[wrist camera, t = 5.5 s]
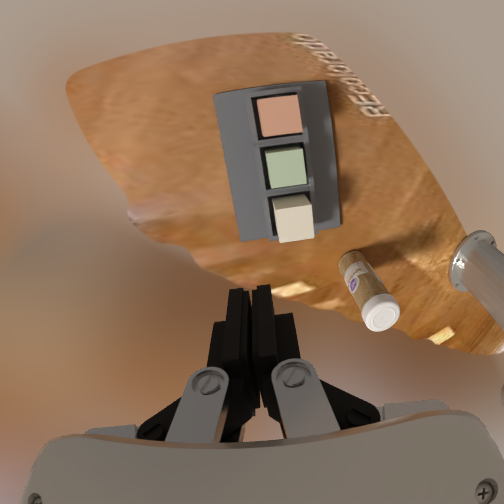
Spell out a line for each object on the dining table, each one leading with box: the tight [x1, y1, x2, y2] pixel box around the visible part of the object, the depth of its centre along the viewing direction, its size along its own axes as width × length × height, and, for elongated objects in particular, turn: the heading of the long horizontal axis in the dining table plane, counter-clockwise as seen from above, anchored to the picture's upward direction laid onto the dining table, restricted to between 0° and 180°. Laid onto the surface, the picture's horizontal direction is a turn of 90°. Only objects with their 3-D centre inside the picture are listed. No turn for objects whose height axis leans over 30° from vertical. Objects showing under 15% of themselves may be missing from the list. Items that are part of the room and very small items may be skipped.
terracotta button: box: [257, 95, 303, 137], centre depth 29 cm, size 4×4×4 cm
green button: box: [264, 145, 307, 188], centre depth 33 cm, size 4×4×4 cm
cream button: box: [272, 194, 314, 243], centre depth 34 cm, size 4×4×4 cm
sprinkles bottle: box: [338, 251, 400, 331], centre depth 37 cm, size 5×5×13 cm
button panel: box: [213, 81, 340, 242], centre depth 35 cm, size 14×20×4 cm
